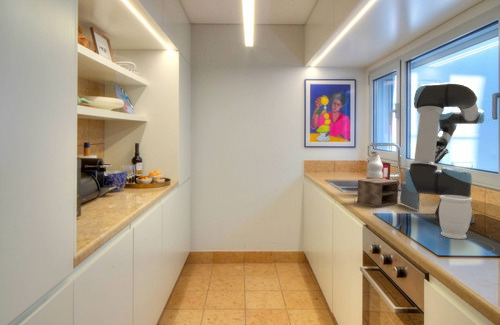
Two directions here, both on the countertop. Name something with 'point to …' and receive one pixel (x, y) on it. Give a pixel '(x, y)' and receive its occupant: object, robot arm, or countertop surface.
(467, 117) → the robot arm
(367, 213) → the countertop surface
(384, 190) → the cabinet
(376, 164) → the white ceramic bottle shape
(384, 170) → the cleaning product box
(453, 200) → the jar
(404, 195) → the door
